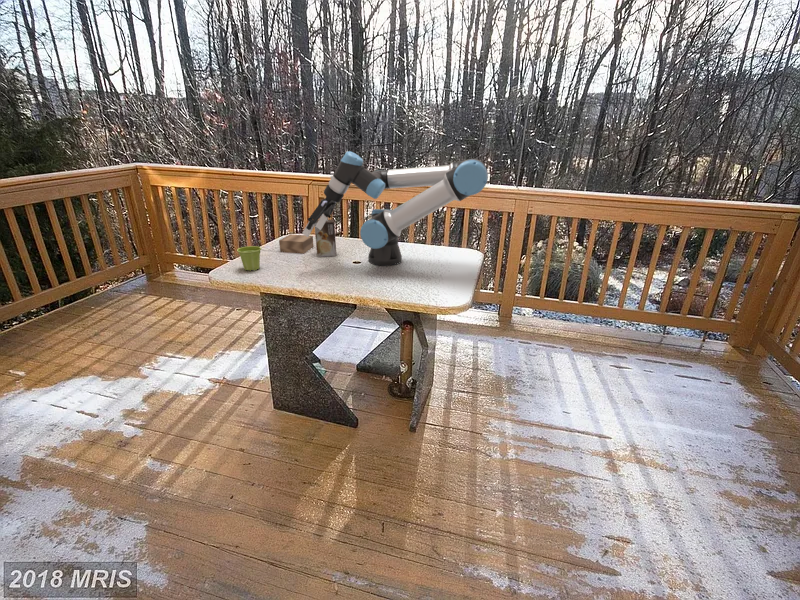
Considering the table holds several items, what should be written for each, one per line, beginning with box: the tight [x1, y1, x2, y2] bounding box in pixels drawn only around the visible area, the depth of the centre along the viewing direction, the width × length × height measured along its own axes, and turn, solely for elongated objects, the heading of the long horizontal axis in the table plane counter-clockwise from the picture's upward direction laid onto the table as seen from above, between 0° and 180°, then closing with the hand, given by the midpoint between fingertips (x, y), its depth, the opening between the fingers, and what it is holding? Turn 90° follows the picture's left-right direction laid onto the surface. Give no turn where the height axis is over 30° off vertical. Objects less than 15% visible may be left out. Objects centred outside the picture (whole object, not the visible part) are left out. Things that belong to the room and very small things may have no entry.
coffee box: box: [314, 219, 337, 258], centre depth 183 cm, size 9×6×16 cm
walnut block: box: [278, 234, 315, 255], centre depth 192 cm, size 12×12×6 cm
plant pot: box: [236, 245, 262, 272], centre depth 164 cm, size 9×9×9 cm
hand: (311, 231), depth 166 cm, fingers open, 13 cm apart
